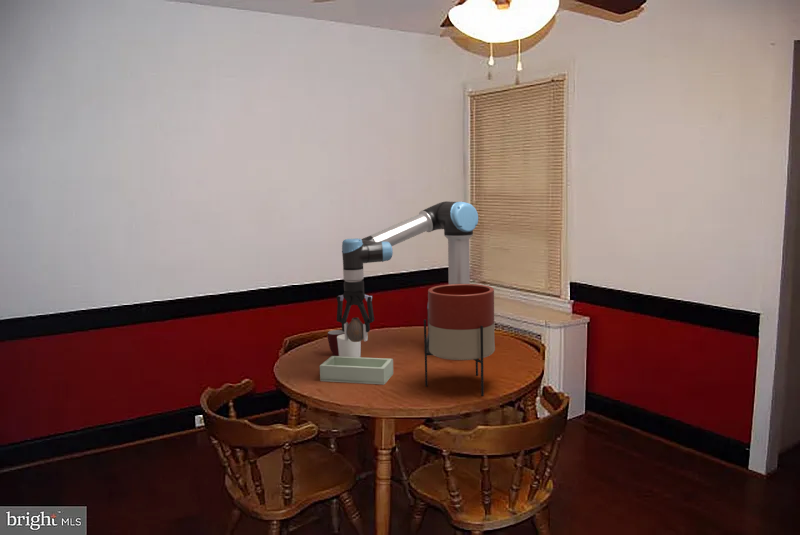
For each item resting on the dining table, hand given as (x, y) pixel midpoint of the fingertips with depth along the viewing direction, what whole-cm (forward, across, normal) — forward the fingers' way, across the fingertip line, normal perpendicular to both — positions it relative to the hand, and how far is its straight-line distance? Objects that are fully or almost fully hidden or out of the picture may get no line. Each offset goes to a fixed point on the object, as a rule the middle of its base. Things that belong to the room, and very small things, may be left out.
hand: (356, 340), depth 239 cm
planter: (+15, -40, +3) cm, 43 cm away
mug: (+15, +17, -29) cm, 37 cm away
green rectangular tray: (+15, 0, 0) cm, 15 cm away
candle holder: (+15, +8, -15) cm, 23 cm away
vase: (+1, 0, 0) cm, 1 cm away
